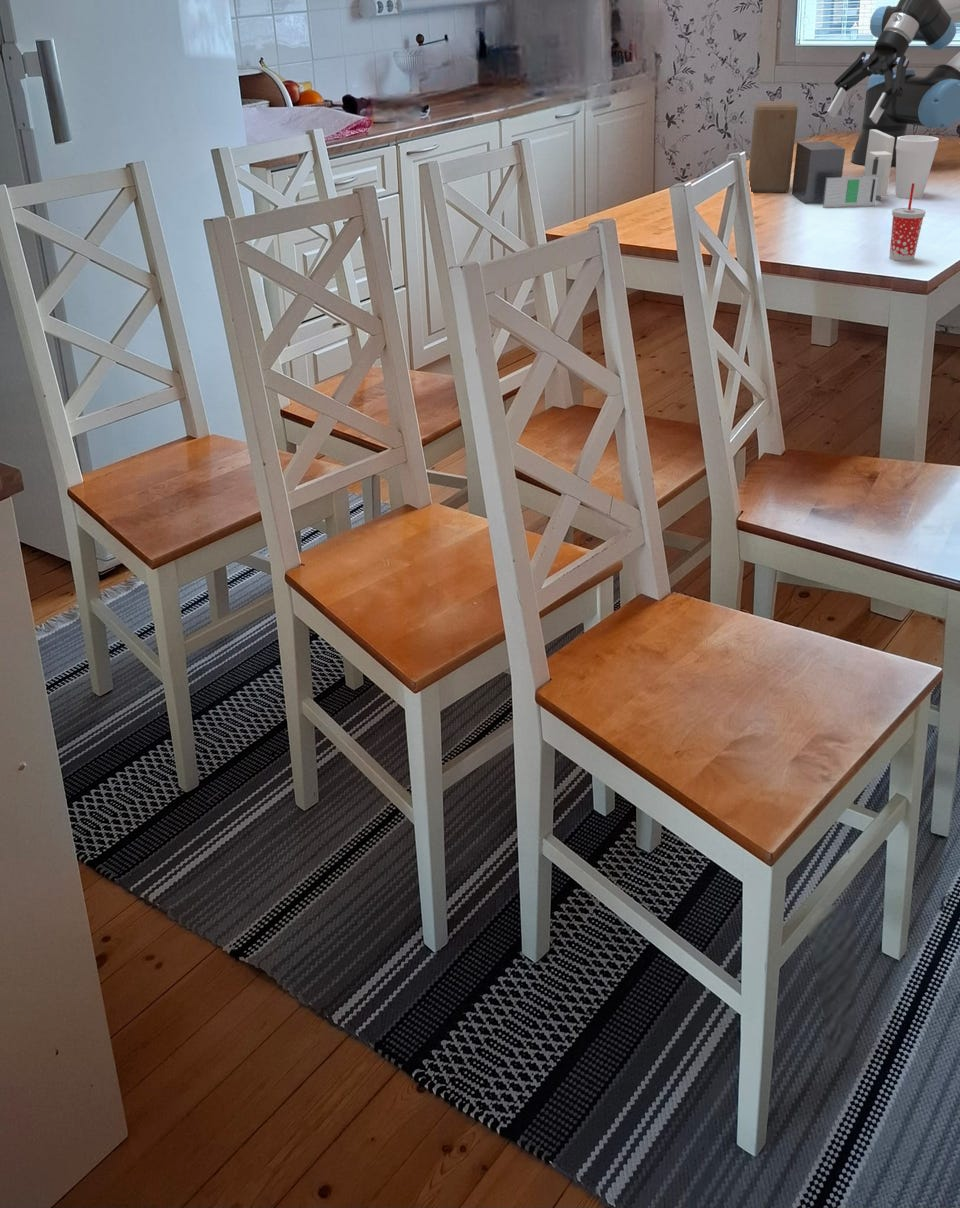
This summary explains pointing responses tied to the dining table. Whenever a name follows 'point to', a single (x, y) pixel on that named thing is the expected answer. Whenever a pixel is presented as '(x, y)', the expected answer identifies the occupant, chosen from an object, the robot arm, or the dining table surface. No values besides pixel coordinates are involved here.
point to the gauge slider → (879, 158)
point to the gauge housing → (829, 178)
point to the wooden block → (772, 146)
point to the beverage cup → (905, 231)
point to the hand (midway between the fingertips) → (851, 117)
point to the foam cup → (913, 163)
